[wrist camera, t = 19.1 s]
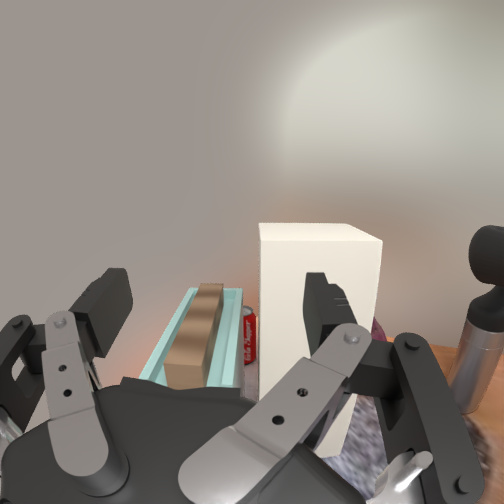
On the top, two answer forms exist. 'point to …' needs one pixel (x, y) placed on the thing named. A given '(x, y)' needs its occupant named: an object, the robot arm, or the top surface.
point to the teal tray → (225, 343)
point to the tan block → (195, 340)
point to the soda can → (249, 334)
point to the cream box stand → (292, 292)
